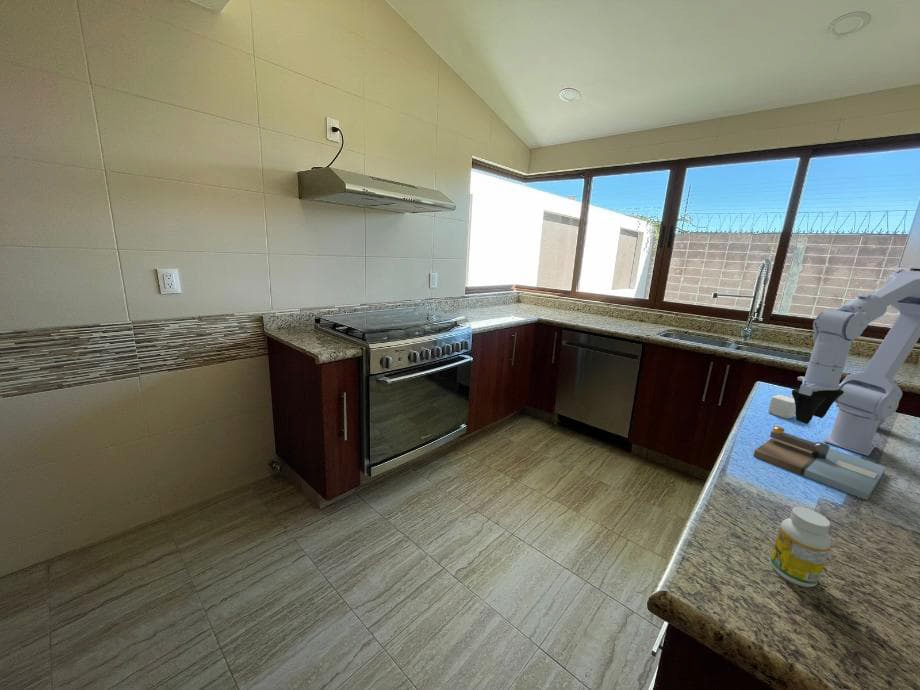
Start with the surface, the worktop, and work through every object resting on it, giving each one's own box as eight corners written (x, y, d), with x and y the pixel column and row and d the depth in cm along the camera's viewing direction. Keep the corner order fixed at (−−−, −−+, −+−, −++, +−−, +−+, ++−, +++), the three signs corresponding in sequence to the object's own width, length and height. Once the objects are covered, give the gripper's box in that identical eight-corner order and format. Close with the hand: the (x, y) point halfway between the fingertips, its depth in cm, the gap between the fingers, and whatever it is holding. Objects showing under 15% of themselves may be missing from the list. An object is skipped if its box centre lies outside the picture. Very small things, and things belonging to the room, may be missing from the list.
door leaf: (826, 453, 90) (828, 446, 90) (883, 473, 83) (886, 466, 82) (803, 475, 80) (805, 468, 80) (866, 500, 73) (869, 493, 72)
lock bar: (827, 456, 85) (831, 443, 84) (824, 459, 84) (828, 446, 83) (772, 437, 93) (775, 425, 92) (768, 439, 92) (772, 427, 91)
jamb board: (779, 437, 97) (781, 431, 97) (826, 453, 90) (828, 447, 90) (753, 455, 87) (755, 449, 87) (803, 475, 80) (805, 469, 80)
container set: (788, 420, 109) (793, 402, 107) (766, 413, 113) (771, 396, 112) (813, 408, 119) (818, 391, 118) (792, 402, 123) (797, 386, 122)
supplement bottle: (818, 595, 51) (839, 536, 49) (768, 573, 54) (786, 516, 52) (815, 571, 55) (835, 515, 53) (769, 551, 58) (786, 498, 56)
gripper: (818, 355, 91) (802, 407, 95) (789, 361, 85) (774, 417, 88) (857, 364, 85) (839, 418, 89) (830, 371, 79) (812, 430, 82)
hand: (809, 419), depth 88 cm, fingers open, 7 cm apart
